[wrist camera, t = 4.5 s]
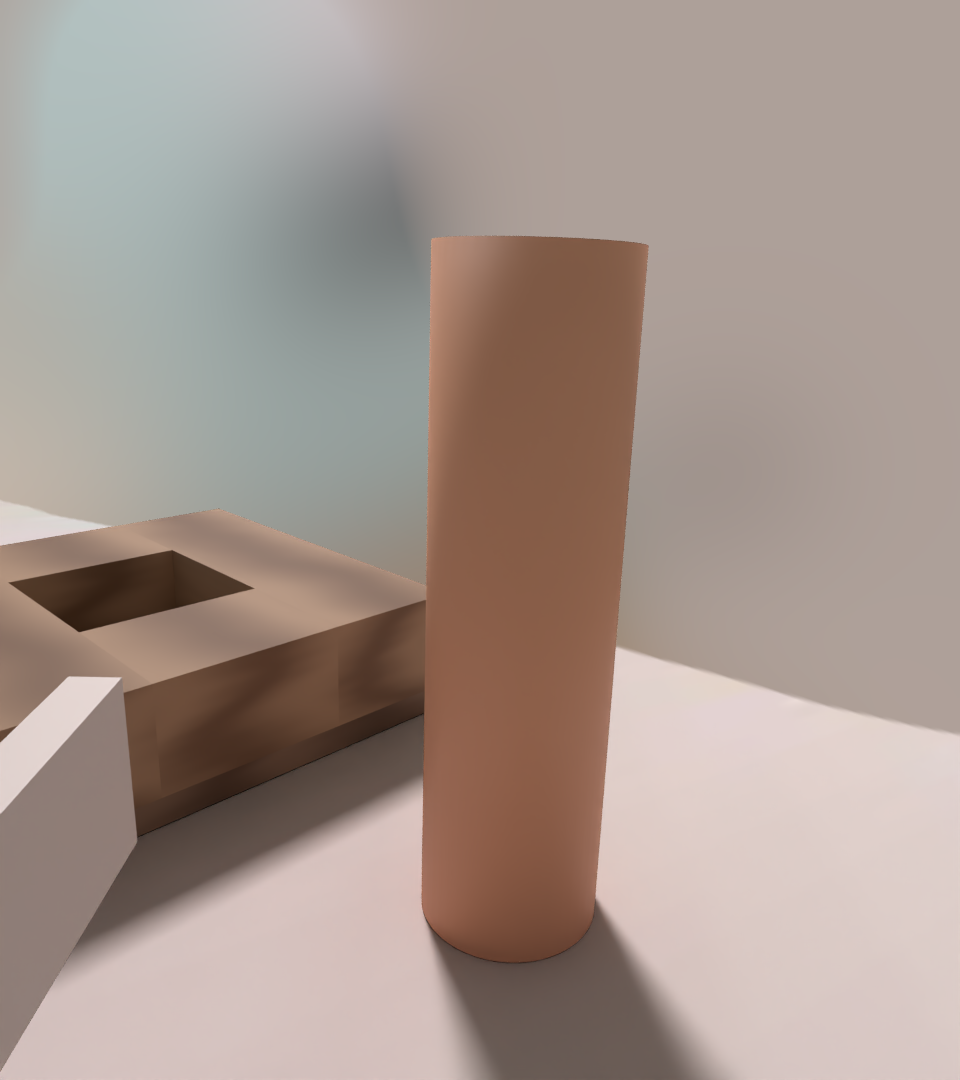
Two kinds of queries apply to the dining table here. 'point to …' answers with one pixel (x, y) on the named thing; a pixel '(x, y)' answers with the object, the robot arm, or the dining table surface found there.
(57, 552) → the socket block
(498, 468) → the peg
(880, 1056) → the dining table surface
